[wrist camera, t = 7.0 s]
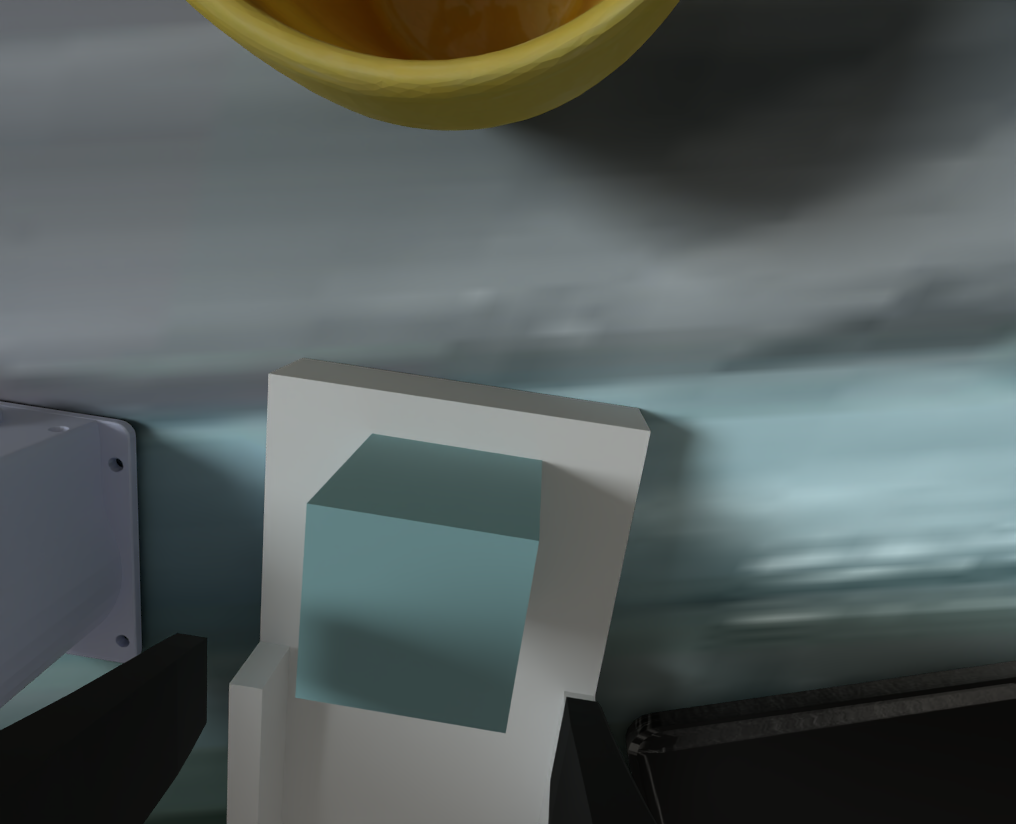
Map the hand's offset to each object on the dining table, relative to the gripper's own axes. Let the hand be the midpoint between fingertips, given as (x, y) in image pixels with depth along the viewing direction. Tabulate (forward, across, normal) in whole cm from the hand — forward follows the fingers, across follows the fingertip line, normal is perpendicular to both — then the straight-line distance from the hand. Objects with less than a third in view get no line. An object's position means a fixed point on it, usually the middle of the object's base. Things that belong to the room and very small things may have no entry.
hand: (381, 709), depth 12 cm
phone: (+10, -16, +8) cm, 20 cm away
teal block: (+7, 0, -1) cm, 7 cm away
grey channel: (+9, 0, +6) cm, 11 cm away
